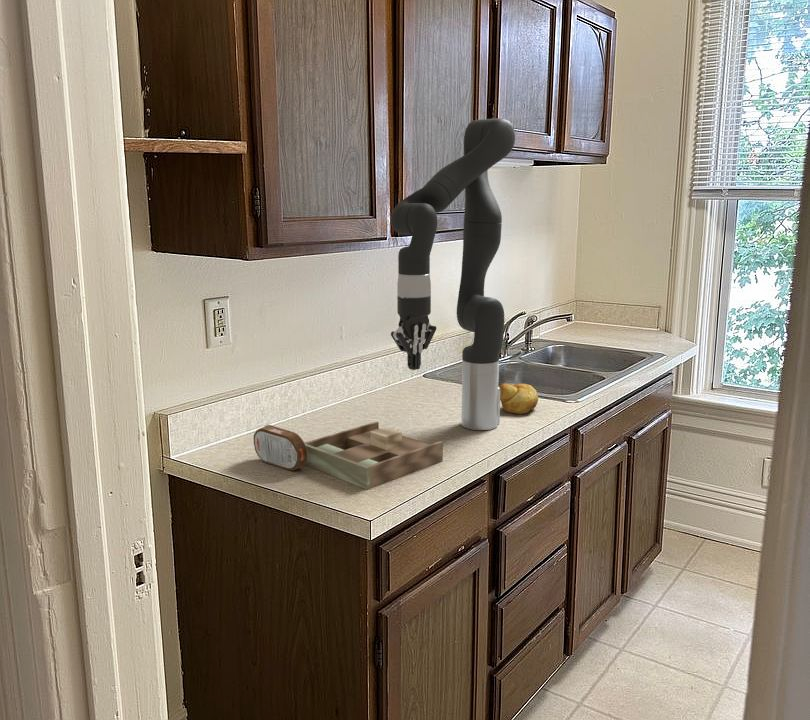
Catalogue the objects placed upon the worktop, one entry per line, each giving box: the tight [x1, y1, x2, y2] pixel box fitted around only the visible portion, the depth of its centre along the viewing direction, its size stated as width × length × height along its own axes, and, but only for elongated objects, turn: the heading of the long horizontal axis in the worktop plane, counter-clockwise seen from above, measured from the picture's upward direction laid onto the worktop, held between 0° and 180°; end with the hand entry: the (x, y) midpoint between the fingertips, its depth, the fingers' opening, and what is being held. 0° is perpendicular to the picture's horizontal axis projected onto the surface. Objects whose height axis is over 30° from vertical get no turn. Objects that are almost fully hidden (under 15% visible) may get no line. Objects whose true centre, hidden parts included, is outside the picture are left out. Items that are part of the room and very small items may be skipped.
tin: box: [253, 424, 307, 472], centre depth 166 cm, size 15×3×8 cm, turn 51°
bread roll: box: [498, 383, 539, 415], centre depth 208 cm, size 13×10×8 cm
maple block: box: [371, 426, 403, 450], centre depth 170 cm, size 5×5×3 cm
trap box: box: [304, 421, 444, 490], centre depth 168 cm, size 23×22×4 cm
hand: (414, 369), depth 173 cm, fingers closed
